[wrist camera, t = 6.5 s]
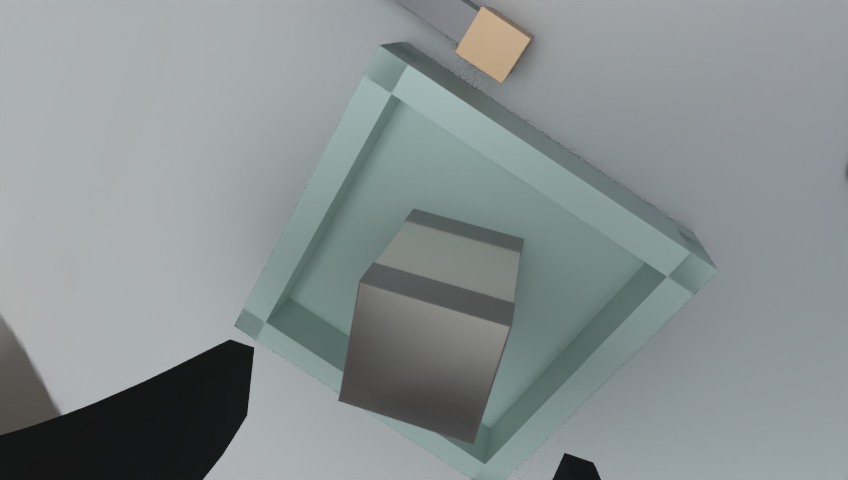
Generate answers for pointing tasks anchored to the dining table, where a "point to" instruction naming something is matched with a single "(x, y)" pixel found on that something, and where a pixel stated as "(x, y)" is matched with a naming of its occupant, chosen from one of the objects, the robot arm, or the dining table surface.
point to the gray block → (433, 325)
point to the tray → (489, 208)
